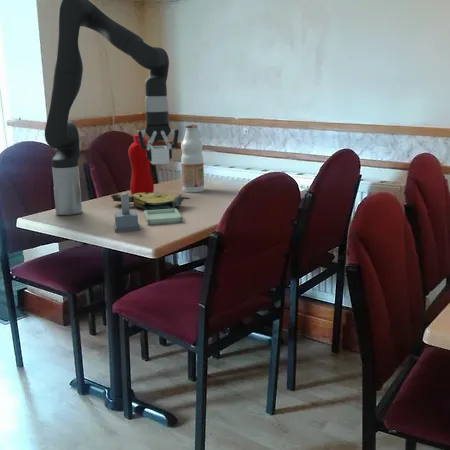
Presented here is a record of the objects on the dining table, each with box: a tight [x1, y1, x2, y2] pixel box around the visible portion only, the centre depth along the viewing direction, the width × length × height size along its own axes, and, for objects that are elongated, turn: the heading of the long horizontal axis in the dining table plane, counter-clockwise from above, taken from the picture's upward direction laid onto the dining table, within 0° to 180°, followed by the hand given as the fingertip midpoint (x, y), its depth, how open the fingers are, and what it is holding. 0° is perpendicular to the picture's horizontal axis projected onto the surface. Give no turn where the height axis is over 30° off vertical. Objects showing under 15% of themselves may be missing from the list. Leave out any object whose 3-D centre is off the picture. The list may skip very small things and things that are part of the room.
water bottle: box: [127, 133, 157, 196], centre depth 237 cm, size 9×11×25 cm
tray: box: [143, 207, 183, 226], centre depth 199 cm, size 12×14×2 cm
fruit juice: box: [180, 124, 205, 194], centre depth 243 cm, size 9×9×28 cm
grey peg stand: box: [113, 192, 141, 233], centre depth 187 cm, size 8×8×12 cm
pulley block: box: [110, 192, 190, 211], centre depth 217 cm, size 14×6×30 cm
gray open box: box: [150, 145, 170, 165], centre depth 194 cm, size 6×8×5 cm
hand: (159, 160), depth 194 cm, fingers closed on gray open box, 5 cm apart
